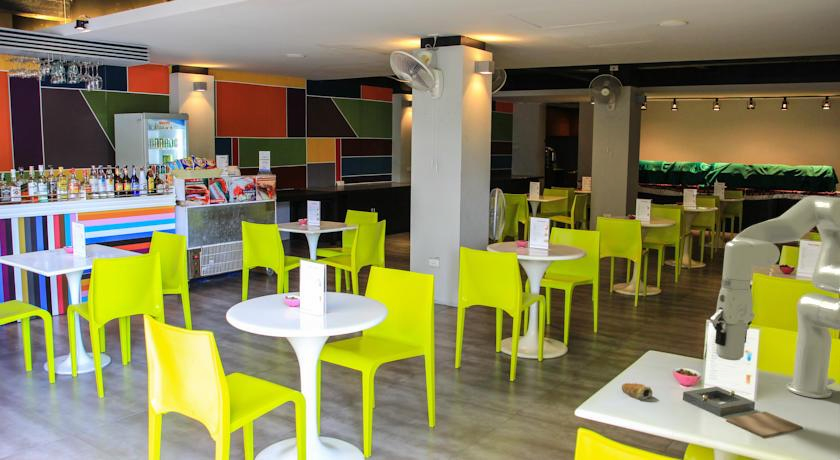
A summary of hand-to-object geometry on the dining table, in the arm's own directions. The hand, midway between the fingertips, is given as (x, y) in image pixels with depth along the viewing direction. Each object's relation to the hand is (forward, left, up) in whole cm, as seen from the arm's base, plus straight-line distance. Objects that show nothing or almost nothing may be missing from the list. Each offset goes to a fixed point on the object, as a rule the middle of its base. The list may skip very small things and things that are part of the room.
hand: (730, 342), depth 210 cm
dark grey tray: (0, -2, -20) cm, 20 cm away
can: (0, 0, -4) cm, 4 cm away
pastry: (+18, -18, -20) cm, 32 cm away
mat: (0, +14, -20) cm, 24 cm away
